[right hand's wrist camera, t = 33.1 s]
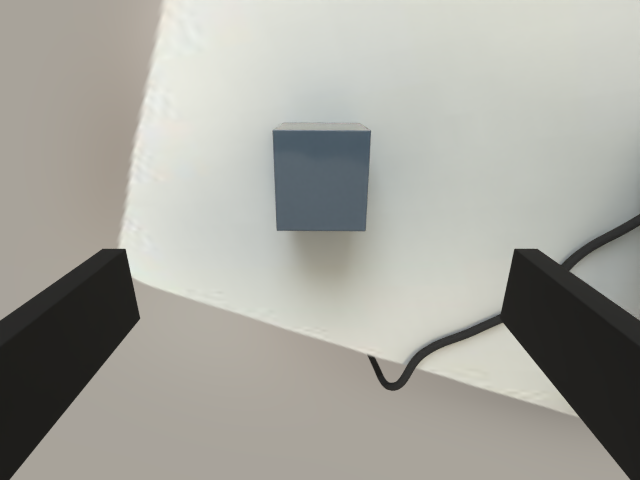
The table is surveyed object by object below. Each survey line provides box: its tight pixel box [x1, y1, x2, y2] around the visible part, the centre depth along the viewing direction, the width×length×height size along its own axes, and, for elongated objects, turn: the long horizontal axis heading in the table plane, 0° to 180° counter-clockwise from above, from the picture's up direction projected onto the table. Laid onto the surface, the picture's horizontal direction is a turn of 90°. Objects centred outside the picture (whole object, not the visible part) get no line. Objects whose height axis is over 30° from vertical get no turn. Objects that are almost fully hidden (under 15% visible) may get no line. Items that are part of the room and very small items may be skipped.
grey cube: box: [273, 123, 371, 231], centre depth 31 cm, size 8×7×8 cm
